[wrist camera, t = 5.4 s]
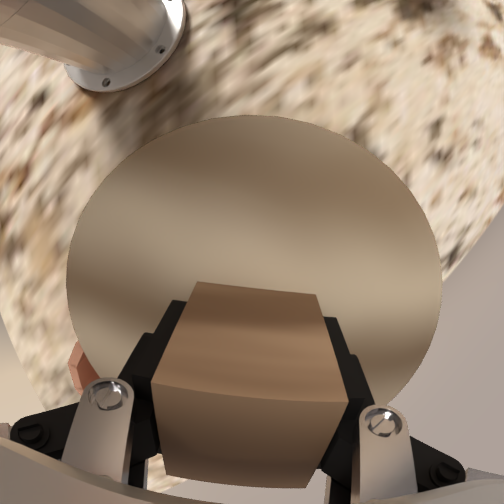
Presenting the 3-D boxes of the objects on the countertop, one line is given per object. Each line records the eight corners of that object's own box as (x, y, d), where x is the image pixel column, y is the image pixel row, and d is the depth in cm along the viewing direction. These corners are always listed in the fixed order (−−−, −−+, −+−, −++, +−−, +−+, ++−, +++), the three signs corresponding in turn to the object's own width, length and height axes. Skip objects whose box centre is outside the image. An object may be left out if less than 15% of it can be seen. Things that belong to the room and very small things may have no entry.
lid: (75, 115, 9) (-48, 112, 4) (465, 162, 9) (583, 189, 4) (105, 411, 14) (65, 491, 9) (368, 439, 14) (391, 524, 9)
